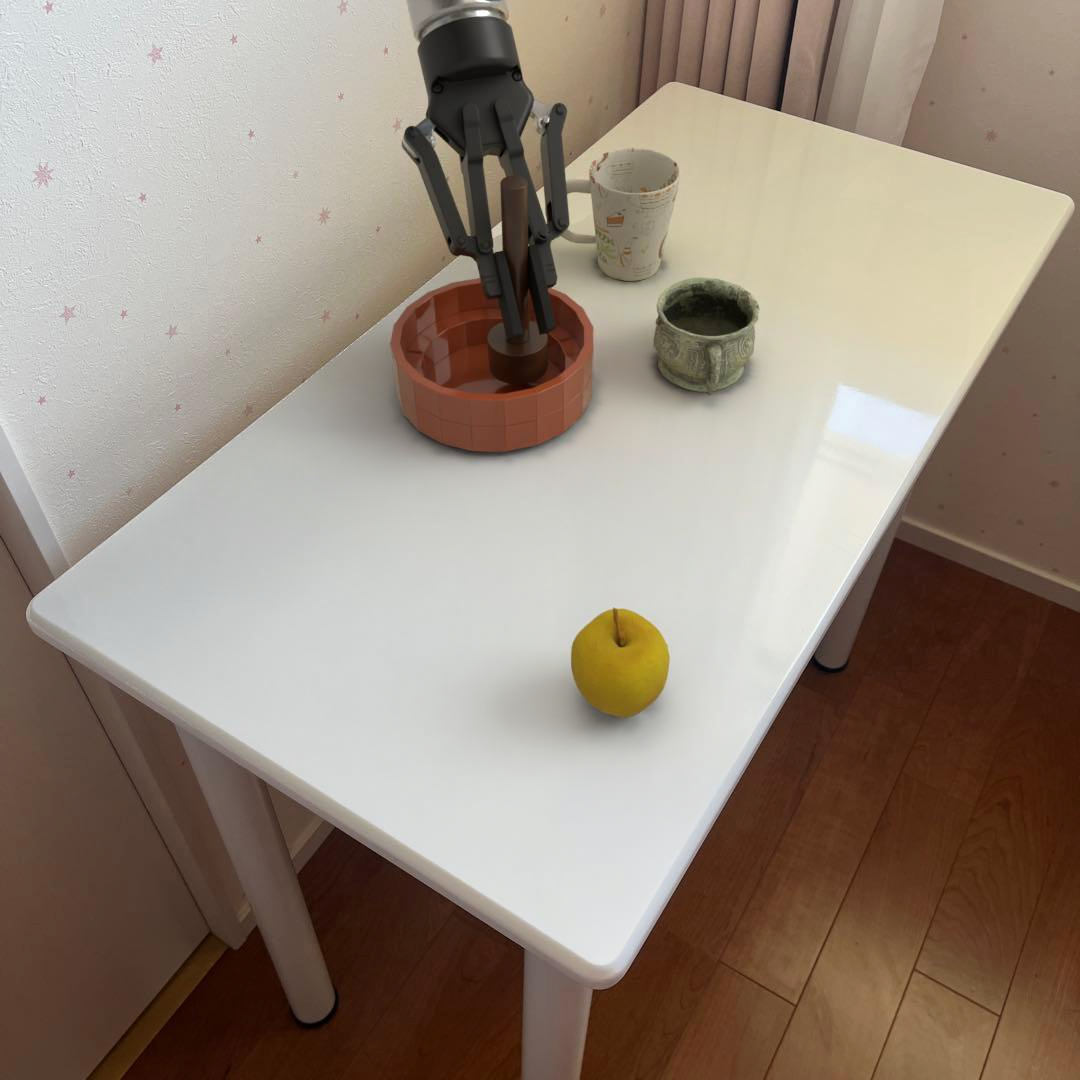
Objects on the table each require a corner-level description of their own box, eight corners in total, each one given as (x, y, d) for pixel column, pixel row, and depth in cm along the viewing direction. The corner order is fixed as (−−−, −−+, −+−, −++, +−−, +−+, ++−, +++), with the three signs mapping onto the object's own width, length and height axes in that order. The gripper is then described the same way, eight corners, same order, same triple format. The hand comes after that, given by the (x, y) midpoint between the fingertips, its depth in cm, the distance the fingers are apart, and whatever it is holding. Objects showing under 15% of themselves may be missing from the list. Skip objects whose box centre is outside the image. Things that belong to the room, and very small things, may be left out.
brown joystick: (486, 384, 92) (477, 199, 79) (490, 347, 95) (482, 164, 83) (546, 385, 92) (546, 200, 79) (548, 348, 95) (548, 165, 83)
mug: (667, 292, 105) (677, 196, 98) (537, 280, 106) (537, 186, 99) (674, 244, 111) (683, 151, 103) (550, 234, 112) (551, 141, 105)
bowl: (387, 455, 90) (379, 398, 85) (409, 331, 101) (403, 275, 97) (591, 458, 89) (594, 401, 85) (590, 334, 101) (592, 278, 96)
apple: (600, 646, 76) (604, 569, 71) (681, 687, 74) (693, 612, 68) (550, 710, 73) (550, 636, 67) (634, 756, 70) (642, 683, 65)
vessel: (643, 326, 101) (648, 267, 97) (738, 323, 102) (747, 264, 97) (659, 411, 93) (665, 351, 89) (763, 407, 94) (774, 347, 89)
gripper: (544, 41, 90) (608, 324, 92) (364, 67, 87) (432, 360, 89) (567, -2, 83) (635, 307, 84) (370, 25, 80) (445, 345, 81)
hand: (531, 333), depth 87 cm, fingers closed on brown joystick, 2 cm apart
